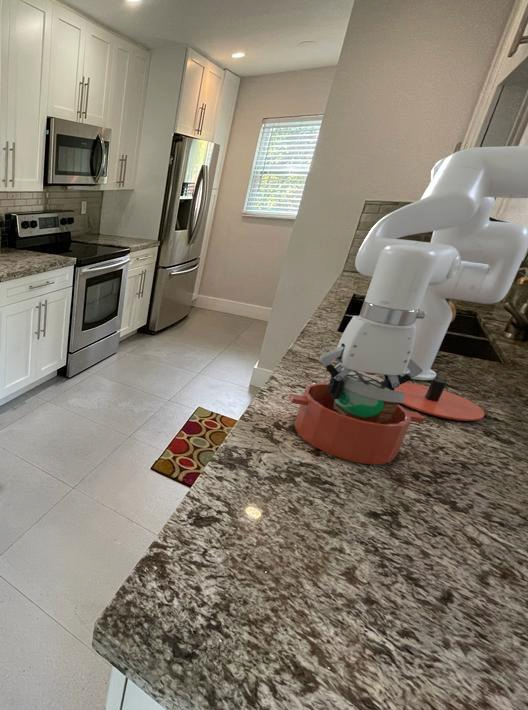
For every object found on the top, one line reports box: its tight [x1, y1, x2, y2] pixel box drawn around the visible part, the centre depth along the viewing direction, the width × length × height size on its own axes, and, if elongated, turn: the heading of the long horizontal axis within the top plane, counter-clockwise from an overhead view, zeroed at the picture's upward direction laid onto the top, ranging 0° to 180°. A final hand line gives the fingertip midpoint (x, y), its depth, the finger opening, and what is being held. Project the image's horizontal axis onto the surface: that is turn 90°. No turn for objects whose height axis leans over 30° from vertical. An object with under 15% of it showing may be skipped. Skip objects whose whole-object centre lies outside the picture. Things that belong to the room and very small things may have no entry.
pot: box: [288, 382, 425, 465], centre depth 83 cm, size 17×22×8 cm
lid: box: [394, 377, 485, 422], centre depth 98 cm, size 18×18×6 cm
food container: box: [332, 371, 405, 424], centre depth 81 cm, size 12×6×10 cm, turn 4°
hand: (356, 398), depth 81 cm, fingers closed on food container, 7 cm apart
